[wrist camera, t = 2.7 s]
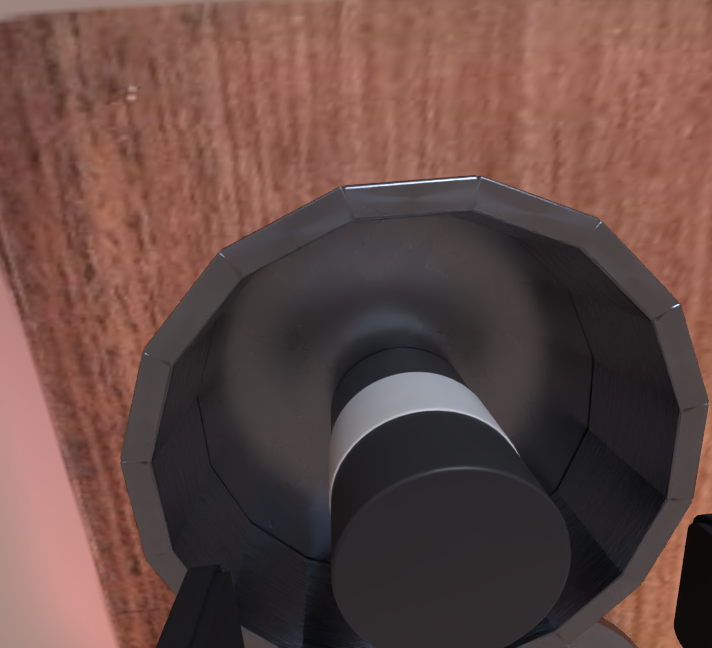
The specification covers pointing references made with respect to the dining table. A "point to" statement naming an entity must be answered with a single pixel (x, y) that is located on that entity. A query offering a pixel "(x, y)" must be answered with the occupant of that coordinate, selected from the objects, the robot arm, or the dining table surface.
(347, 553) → the cylinder
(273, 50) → the dining table surface
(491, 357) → the pan
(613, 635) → the lid
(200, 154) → the dining table surface
